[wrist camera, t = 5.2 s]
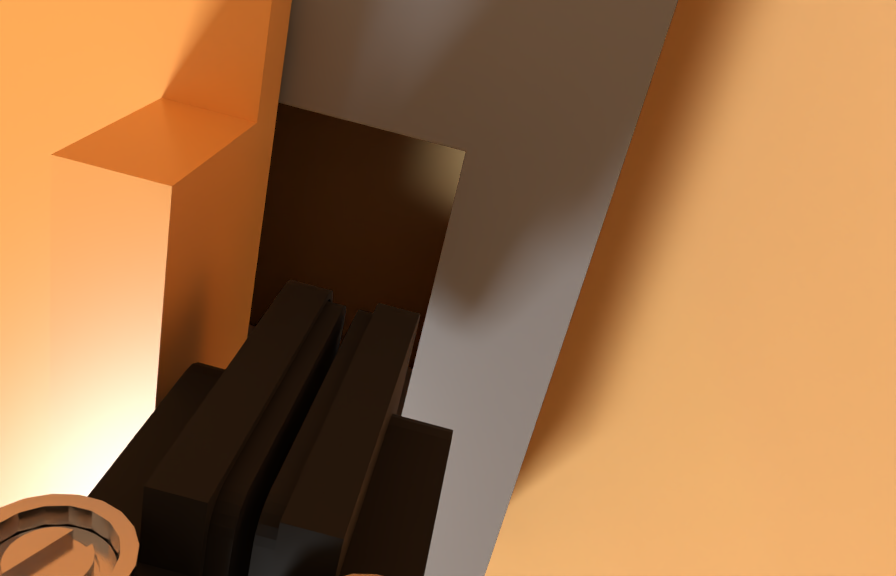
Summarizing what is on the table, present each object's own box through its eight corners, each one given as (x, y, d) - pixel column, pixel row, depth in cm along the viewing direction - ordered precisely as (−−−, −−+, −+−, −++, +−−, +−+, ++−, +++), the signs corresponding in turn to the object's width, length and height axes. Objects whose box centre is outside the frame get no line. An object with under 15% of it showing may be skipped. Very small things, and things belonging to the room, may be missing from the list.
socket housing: (683, -139, 13) (727, -149, 9) (469, 537, 19) (446, 688, 15) (-441, -421, 13) (-827, -540, 9) (-284, 335, 19) (-479, 436, 16)
